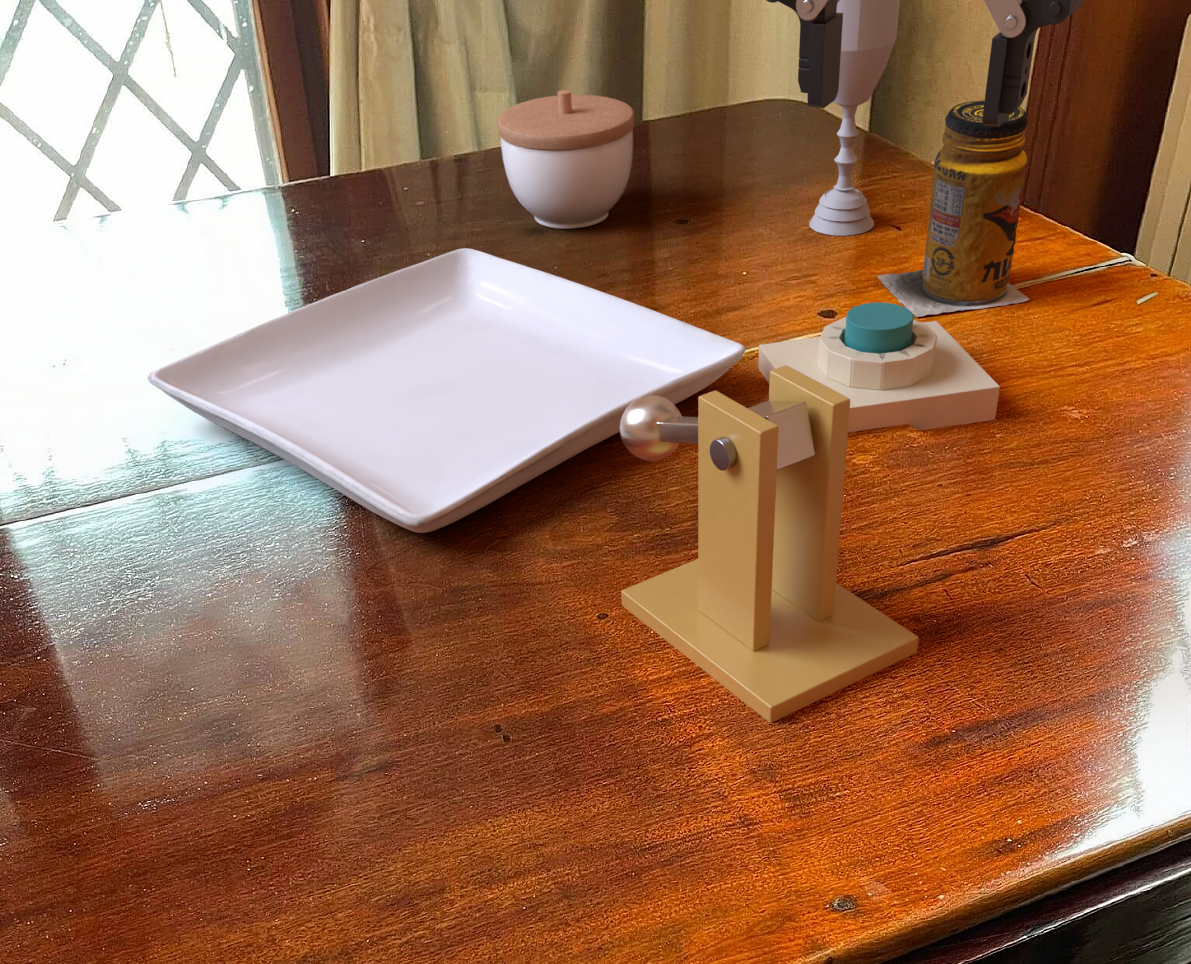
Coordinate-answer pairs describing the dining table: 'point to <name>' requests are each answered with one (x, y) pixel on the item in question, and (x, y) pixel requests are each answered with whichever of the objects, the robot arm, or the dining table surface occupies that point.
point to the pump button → (878, 328)
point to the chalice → (862, 62)
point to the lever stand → (770, 562)
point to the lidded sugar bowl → (568, 156)
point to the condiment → (970, 217)
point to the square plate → (444, 381)
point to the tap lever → (660, 428)
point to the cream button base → (893, 378)
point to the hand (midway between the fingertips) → (906, 112)
